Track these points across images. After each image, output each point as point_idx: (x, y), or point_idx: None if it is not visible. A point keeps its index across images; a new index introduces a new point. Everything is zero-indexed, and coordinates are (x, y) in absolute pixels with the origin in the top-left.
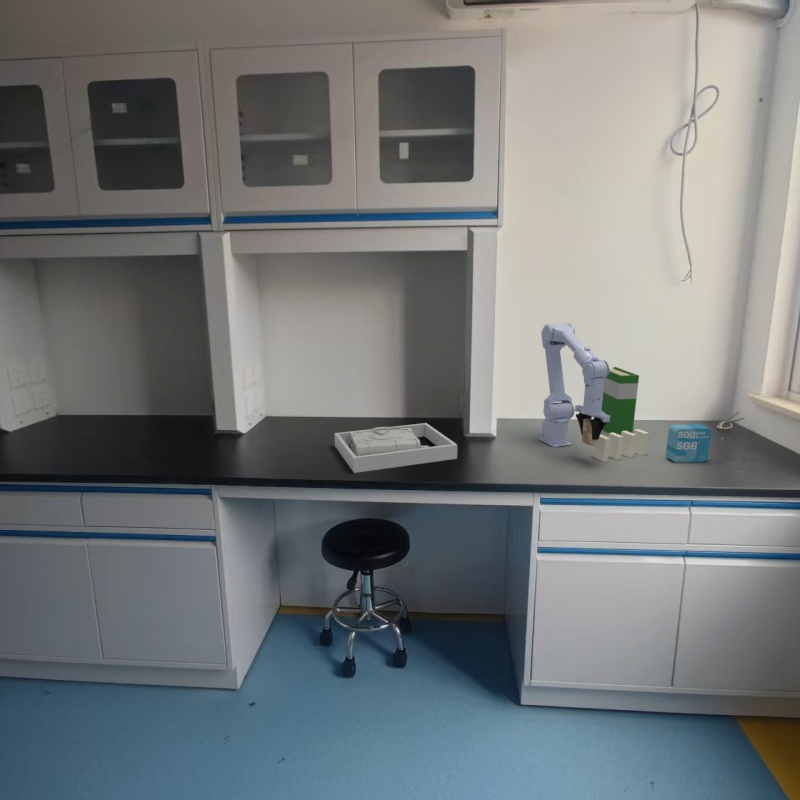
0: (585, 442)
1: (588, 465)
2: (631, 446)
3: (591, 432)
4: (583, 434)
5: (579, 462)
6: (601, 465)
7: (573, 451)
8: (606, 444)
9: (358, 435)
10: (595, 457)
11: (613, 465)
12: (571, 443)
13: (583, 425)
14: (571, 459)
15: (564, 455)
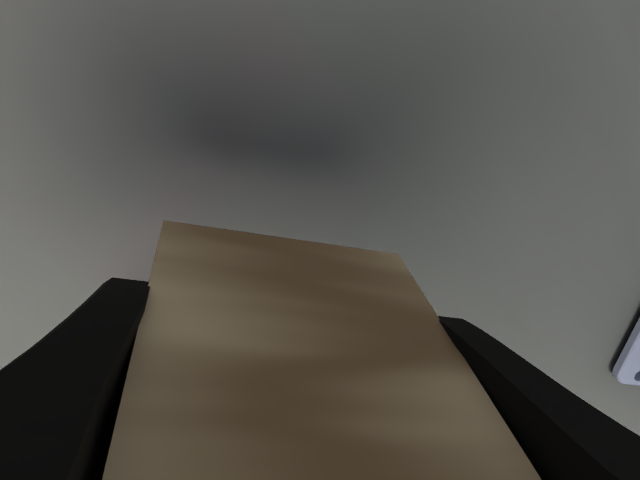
0: (314, 248)
1: (151, 81)
2: None
3: (174, 373)
4: (412, 322)
5: (274, 69)
6: (84, 206)
7: (513, 270)
8: None
9: None
10: None
11: (30, 307)
12: (621, 379)
13: (519, 467)
14: (389, 68)
15: (511, 103)
